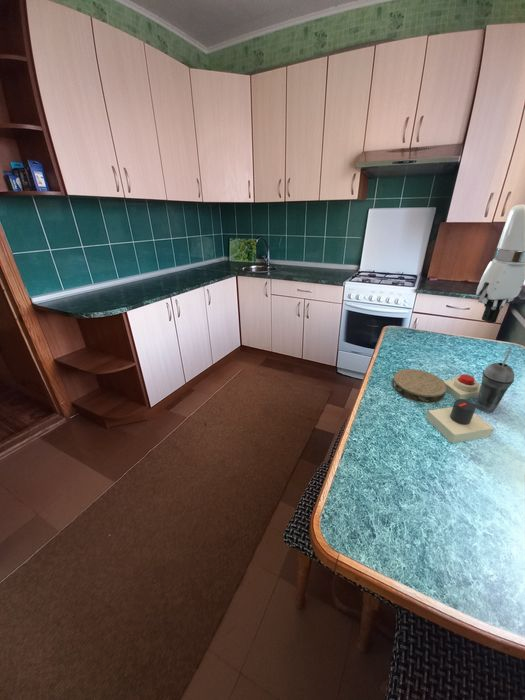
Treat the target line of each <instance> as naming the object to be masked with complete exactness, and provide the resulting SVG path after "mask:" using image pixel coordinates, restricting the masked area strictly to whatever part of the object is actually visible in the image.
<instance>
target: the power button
mask: <svg viewBox="0 0 525 700" xmlns="http://www.w3.org/2000/svg"><path fill="white" fill-rule="evenodd" d="M459 376H460V378H459V382H461V383H463V384H465V385H473V383H474V381H475V380H476V379H475V377H474V376H472V375H469V374H467V373H465V374H464V373H463V374H460V375H459Z"/></svg>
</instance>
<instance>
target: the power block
mask: <svg viewBox="0 0 525 700" xmlns="http://www.w3.org/2000/svg"><path fill="white" fill-rule="evenodd" d="M459 378H460V375H454V377H452V379H448V380H443V381H444V382H445V384H446V386H447V389H446V392H448V393H449V394H450V395H451V396H452V397H454V398H455V399H456V400H457V399H464V400H469V399H476V398H478V395H479V391H480V387H481V384H480V383H479V381H478V380H476V379H475V381H474V383H473V385H465V384H463V383H461V382H459Z"/></svg>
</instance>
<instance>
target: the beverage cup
mask: <svg viewBox="0 0 525 700" xmlns="http://www.w3.org/2000/svg"><path fill="white" fill-rule="evenodd" d="M511 352H512V349H511V348H508V350H507V353H506V355H505V357H504V359H503V361H502V362H494V363H491V364H489V365H488V366H486V367H485V368H484V370H483V372H482V376H481V377H482V378H481V384H480V386H481V387H480V391H479V395H478V397H477V399H476V403H475V406H476V409H477V410H479V411H481V412H483V413H486V414H492V413H494V411H495V410H496V409H497V407H498V406H499V405H500V403H501V401H502V399H503V397H505V396H504V395H505V394H506V393H507V391H508V389H509V388H510V387H511V386H512V385H513V383H514V382H515V371H514V370H513V368H512V367H511V366H510V365H508V364H506V363H507V360H508V358H509V356H510V354H511Z"/></svg>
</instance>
